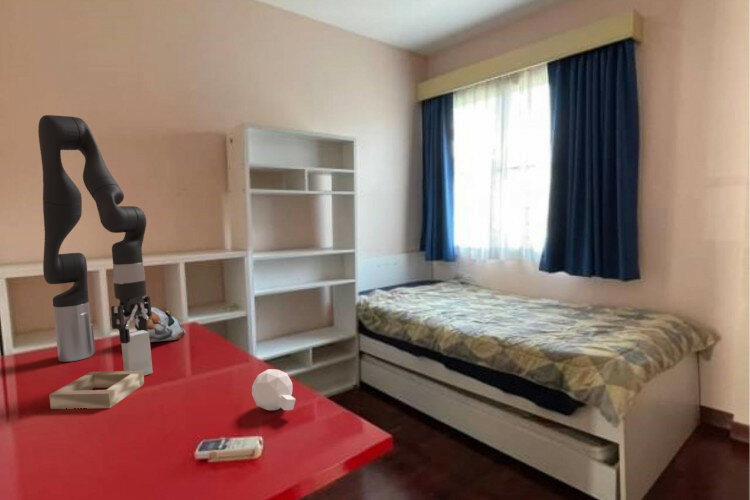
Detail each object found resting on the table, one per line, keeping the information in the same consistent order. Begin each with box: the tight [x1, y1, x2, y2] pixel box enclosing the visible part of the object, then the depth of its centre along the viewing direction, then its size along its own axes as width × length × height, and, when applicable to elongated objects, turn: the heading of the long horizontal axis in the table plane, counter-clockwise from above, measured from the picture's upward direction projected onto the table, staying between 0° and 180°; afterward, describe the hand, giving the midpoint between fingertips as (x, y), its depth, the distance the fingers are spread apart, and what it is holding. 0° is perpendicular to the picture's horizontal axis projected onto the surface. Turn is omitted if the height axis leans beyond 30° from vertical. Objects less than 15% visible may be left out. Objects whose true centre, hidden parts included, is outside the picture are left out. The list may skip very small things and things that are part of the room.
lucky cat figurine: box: [134, 306, 187, 344], centre depth 151 cm, size 17×14×16 cm
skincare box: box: [120, 330, 154, 377], centre depth 118 cm, size 6×4×12 cm
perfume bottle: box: [251, 368, 297, 411], centre depth 95 cm, size 9×9×12 cm
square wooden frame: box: [49, 370, 145, 410], centre depth 106 cm, size 14×14×4 cm
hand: (134, 338), depth 117 cm, fingers open, 8 cm apart
